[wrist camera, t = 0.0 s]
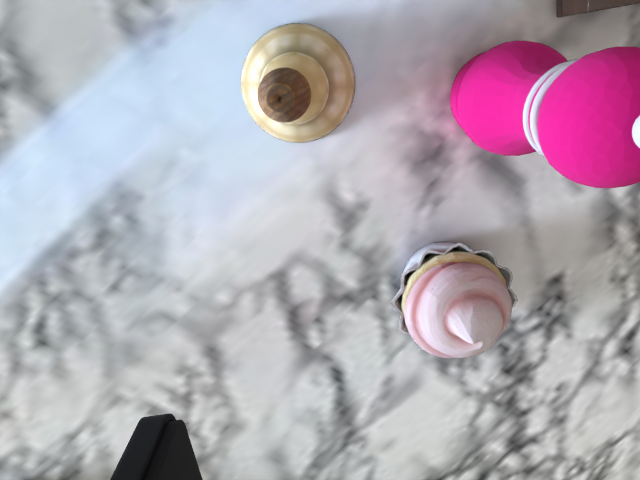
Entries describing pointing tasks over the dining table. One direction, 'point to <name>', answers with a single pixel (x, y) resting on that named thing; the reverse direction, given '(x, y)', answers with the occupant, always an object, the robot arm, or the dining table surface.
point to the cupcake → (454, 300)
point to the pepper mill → (556, 109)
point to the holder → (588, 6)
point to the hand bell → (298, 82)
